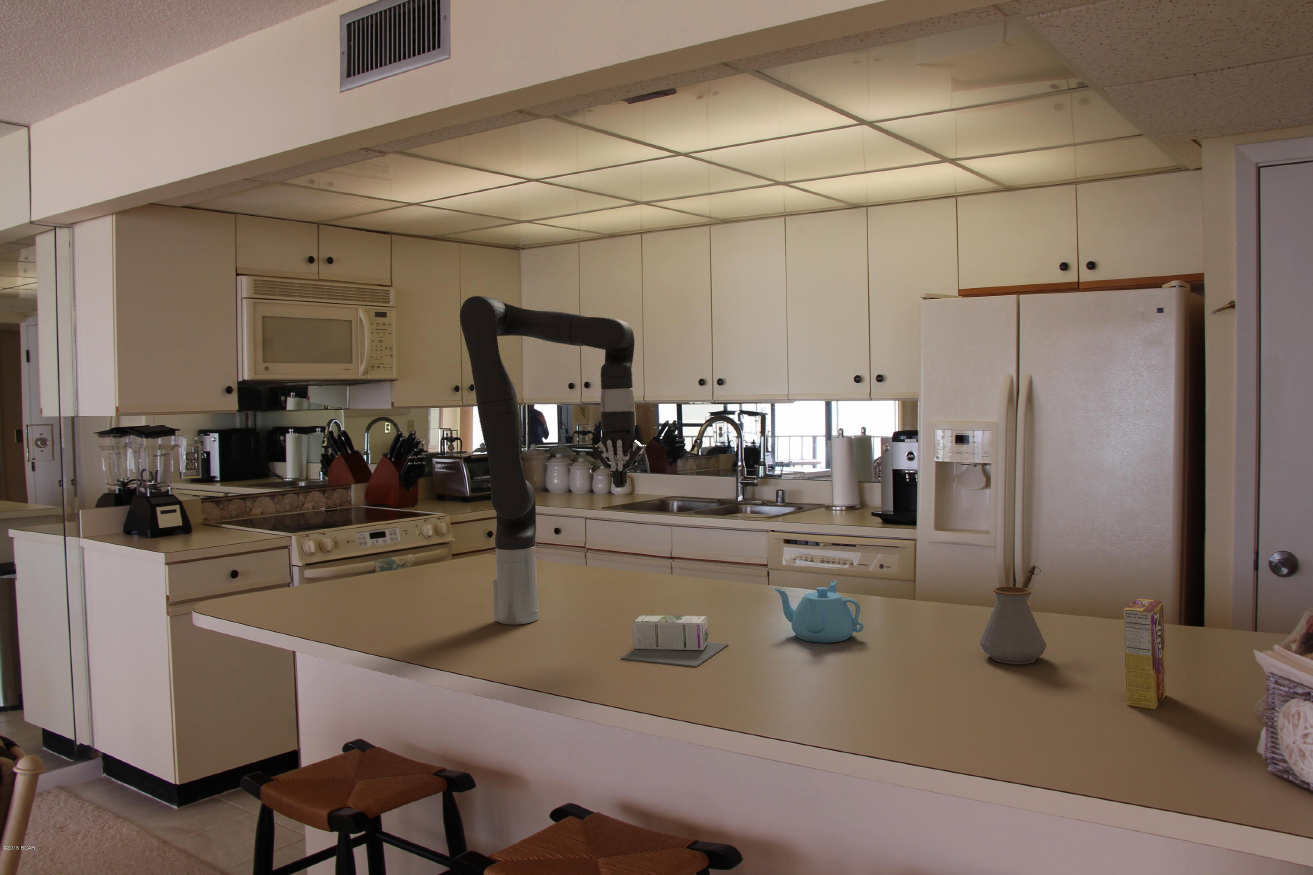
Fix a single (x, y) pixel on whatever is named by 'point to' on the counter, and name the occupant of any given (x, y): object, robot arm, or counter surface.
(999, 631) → the coffee pot
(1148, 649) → the candy box
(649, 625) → the syrup box
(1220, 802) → the counter surface
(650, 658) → the mat
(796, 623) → the teapot
